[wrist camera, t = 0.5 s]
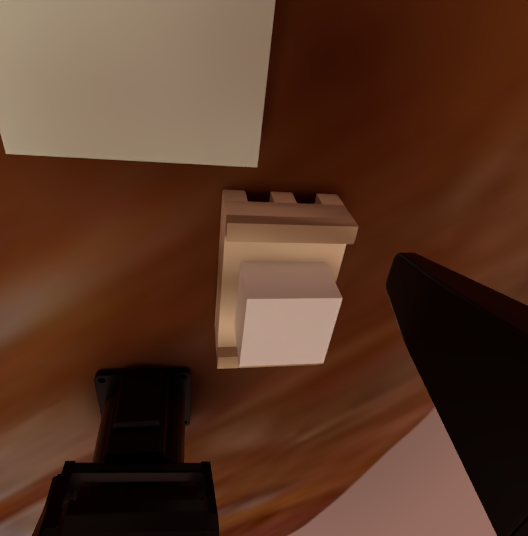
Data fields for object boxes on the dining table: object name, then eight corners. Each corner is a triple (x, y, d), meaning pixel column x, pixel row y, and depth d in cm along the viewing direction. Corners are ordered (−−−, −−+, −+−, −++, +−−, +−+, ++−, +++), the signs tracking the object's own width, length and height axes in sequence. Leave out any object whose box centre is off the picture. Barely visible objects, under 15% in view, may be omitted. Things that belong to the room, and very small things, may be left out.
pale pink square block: (310, 324, 24) (323, 363, 22) (234, 326, 23) (239, 366, 21) (325, 262, 21) (342, 298, 19) (240, 261, 21) (247, 298, 18)
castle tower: (305, 322, 28) (319, 364, 25) (214, 324, 27) (217, 368, 24) (336, 192, 22) (358, 226, 19) (222, 188, 21) (227, 223, 18)
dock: (249, 144, 20) (257, 167, 17) (30, 130, 18) (5, 153, 16) (279, -176, 14) (298, -209, 11) (-54, -248, 12) (-116, -307, 9)
